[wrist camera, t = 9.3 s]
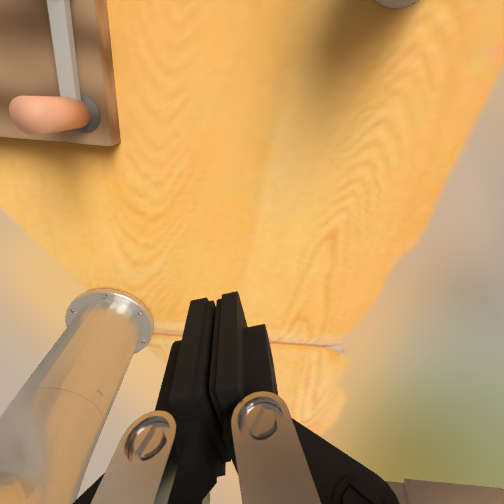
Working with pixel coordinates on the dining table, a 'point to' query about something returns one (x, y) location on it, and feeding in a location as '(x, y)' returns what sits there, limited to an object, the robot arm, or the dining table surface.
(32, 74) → the wooden peg board
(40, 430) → the robot arm
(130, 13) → the dining table surface
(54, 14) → the crank handle
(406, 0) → the grey cylinder with loop
